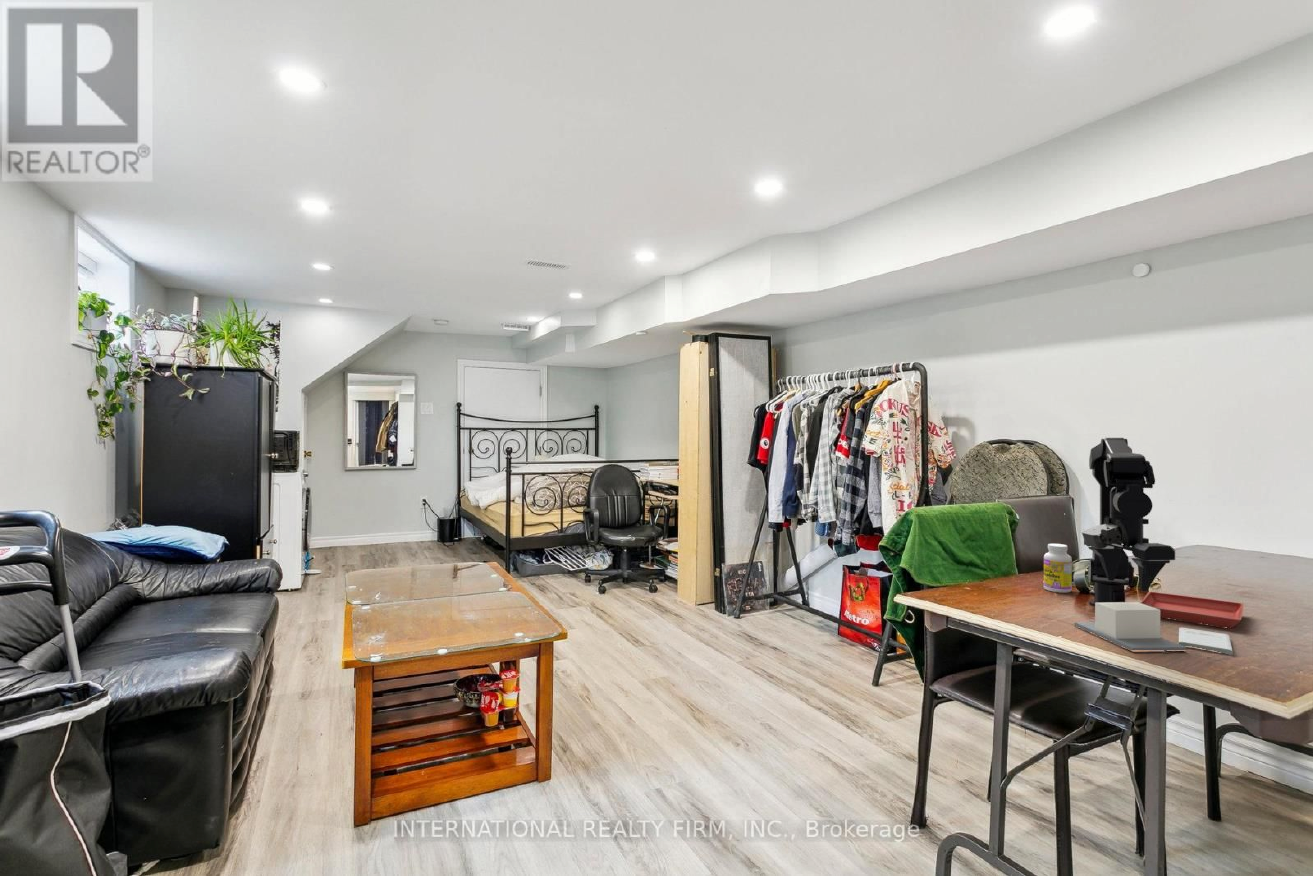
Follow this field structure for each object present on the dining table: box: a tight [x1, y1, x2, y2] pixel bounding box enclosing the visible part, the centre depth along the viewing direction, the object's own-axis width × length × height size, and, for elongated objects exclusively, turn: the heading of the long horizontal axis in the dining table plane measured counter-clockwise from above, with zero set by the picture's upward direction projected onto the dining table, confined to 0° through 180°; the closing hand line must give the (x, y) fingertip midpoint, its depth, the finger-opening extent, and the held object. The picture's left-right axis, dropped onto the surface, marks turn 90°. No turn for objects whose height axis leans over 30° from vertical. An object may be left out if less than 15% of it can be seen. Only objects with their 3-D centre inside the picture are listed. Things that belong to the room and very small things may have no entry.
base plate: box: [1074, 621, 1187, 651], centre depth 133 cm, size 17×11×4 cm, turn 0°
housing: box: [1094, 601, 1161, 639], centre depth 133 cm, size 10×6×6 cm, turn 91°
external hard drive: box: [1178, 627, 1233, 656], centre depth 130 cm, size 2×8×12 cm
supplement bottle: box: [1043, 543, 1073, 594], centre depth 174 cm, size 7×7×13 cm
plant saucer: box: [1140, 591, 1244, 629], centre depth 149 cm, size 18×18×3 cm
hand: (1126, 585), depth 133 cm, fingers open, 9 cm apart
